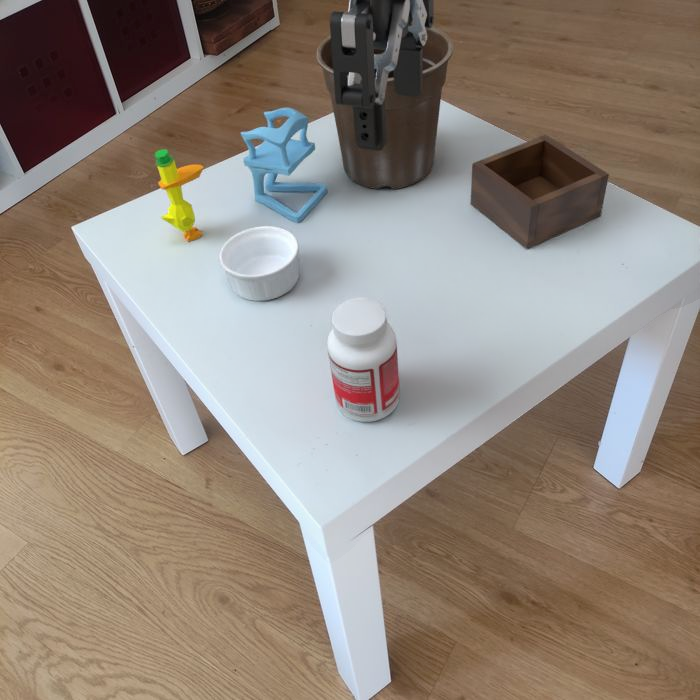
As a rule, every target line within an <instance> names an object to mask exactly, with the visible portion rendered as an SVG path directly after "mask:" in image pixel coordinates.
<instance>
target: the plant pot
mask: <svg viewBox="0 0 700 700" xmlns="http://www.w3.org/2000/svg"><path fill="white" fill-rule="evenodd" d="M426 32H427V40H426V43H425V45H424V46H420V48H423V89H422V91H421V92H420V94H419V95H418V96H406V95H399V94H397V93H396V92H395V90H394V70H392V71H390V72H389V74H388V79H387V85H386V91H385V99H384V100H385V113H386V133H387V143H386V145H385V146H384V148H383V149H382V150H381V151H375V150H368V149H361V148H359V147H358V146H357V145H356V142H355V130H354V118H353V106H346V105H338V104H337V103H336V100H335V88H334V74H333V60H332V47H331V35H329V36H327V37H326V38H325V39H324V40H323V41H322V42H321V43H320V45H319V46H318V47H317V49H316V59H317V63H318V65H319V66H320V68H321V69H322V73H323V77H324V78H323V79H324V82H325V83H324V84H325V87H326V90H327V92H328V93H329V95H330V96H329V97H330V100H331V107H332V111H333V117H334V122H335V127H336V131H337V138H338V144H339V149H340V154H341V159H342V165H343V170H344V172H345V174H346V176H347V177H348V178H349V179H350V180H352V181H353V182H354V183H357V184H358V185H361V186H363V187H367V188H370V189H376V190H378V189H381V188H382V187H389V188H391V189H394V190H396V189H402V188H405V187H408V186H411V185H414V184H417V183H418V182H420V181H422V180H423V179H424V178H426V177H427V176H428V175H429V174H430V173H431V172H432V170H433V168H434V164H435V163H434V162H435V153H436V146H437V145H436V143H437V134H438V127H439V117H440V108H441V102H442V101H441V99H442V91H443V87H444V85H445V83H446V79H447V72H448V64H449V60H450V59H451V57H452V56H453V51H454V50H453V49H454V43H453V40H452V39H451V38H450V36H448V34H447V33H446V32H444V31H442V30H441V29H439V28H437V27H434V26H432V27H431V28H426ZM384 52H385V50H378V49H374V54H382V53H384ZM374 71H375V78H376V71H377V69H374ZM348 77H349V72H347V78H348ZM360 84H362V80H361V81H360Z"/></svg>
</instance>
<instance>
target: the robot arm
mask: <svg viewBox="0 0 700 700" xmlns="http://www.w3.org/2000/svg"><path fill="white" fill-rule="evenodd" d="M434 10H435V9H434V0H349V2H348V9H347V11H338V10H333V11H332V12H331V14H330V17H329V18H330V19H329V33H330V36H331V47H332V60H333V74H334V88H335V100H336V103H337V104H338V105H346V106H353V118H354V130H355V142H356V145H357V146H358V147H359V148H361V149H368V150H375V151H381V150H382V149H383V148H384V146H385V145H386V143H387V133H386V113H385V100H384V99H385V91H386V85H387V79H388V74H389V72H390V71H392V70H394V90H395V92H396V93H397V94H399V95H406V96H418V95H419V94H420V92H421V91H422V89H423V48H420V46H424V45H425V43H426V40H427V32H426V28H431V27H433V25H434V23H435V15H434V13H435V11H434ZM374 49H378V50H385V52H384V53H382V54H374ZM374 69H377V71H376V78H375V71H374ZM347 72H349V77H348V78H347ZM361 80H362V84H360V81H361Z"/></svg>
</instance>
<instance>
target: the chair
mask: <svg viewBox="0 0 700 700" xmlns="http://www.w3.org/2000/svg"><path fill="white" fill-rule="evenodd" d="M263 114H264V117H265V119H266V121H267V126H260V127H256V128H254V129H251V130H249V131H241V132H240V136H241V137H242V140H243V141H244V143H245V144H246V146H247V149H248V155H247V156H245V158H244V159H243V164H244V167H247V168H248V169H249V170H250V172H251V175H252V182H253V192H254V201H257V202H258V203H261V204H263V205H265V206H266V207H268V208H269V209H271V210H274V211H275V212H277V213H278V214H280V215H281V216H283V217H285V218H286V219H288V220H290V221H292V222H294V223H301V222H302V221H303V220H304V219H305V218H306V217H307V216H308V215H309V213H310V212H311V211H312V210H313V209H314V208H315V207H316V206H317V205H318V204H319V203H320V201H321V200H322V199H323V198H324V197H325V196H326V195H327V193H328V191H329V187H328V184H326V183H321V182H317V183H316V182H285V181H284V182H283V181H276V180H277V178H278V175H283V176H287V177H289V176H290V175H292V173H294V171H296V169H297V168H298V167H299V165H300V164H301V163H302V162H303V161H304V160H305V159H306V158H308V157H309V156H310V155H312V153H314V151H315V150H316V143H315V142H313V141H312V142H311V141H309V140H308V137H307V131H308V126H309V117H308V116H306V115H304V114H303V113H301V112H300V111H299V110H297V109H295V108H291V107H281V108H278V109H274V110H271V111H264V112H263ZM281 117H284V118H285V117H286V118H288V119H286V121H285V122H284V123H283V124H282V125H281V126H280V127H277V128H275V124H274V120H275V119H278V118H281ZM298 132H300V134H299V135H300V136H299V140H298V139H293V137H294V135H296V134H297V133H298ZM251 140H262V141H263V142H262V143H261V144H260V145H259V146H257V147H255V145H254V143H253V142H252V141H251ZM266 175H267V176H266ZM265 176H266V178H265ZM265 191H269V192H277V193H278V192H282V193H283V192H286V193H289V192H290V193H291V192H292V193H293V192H296V193H297V192H298V193H300V192H302V193H303V192H306V193H307V192H308V193H310V192H311V193H312V192H313V193H314V195H312V197H311V198H310V199H309V200H308V201H307V202H306V203H305V204H304V205H303V206H302V207H301V208H300V210H298V211H297V212H295V211H293V210H292V209H290V208H289V207H287V206H286V205H284V204H283V203H282V202H280V201H279V200H277V199H275V198H274V197H272V196H271V195H269V194H267V193H265ZM315 192H316V193H315Z"/></svg>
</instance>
